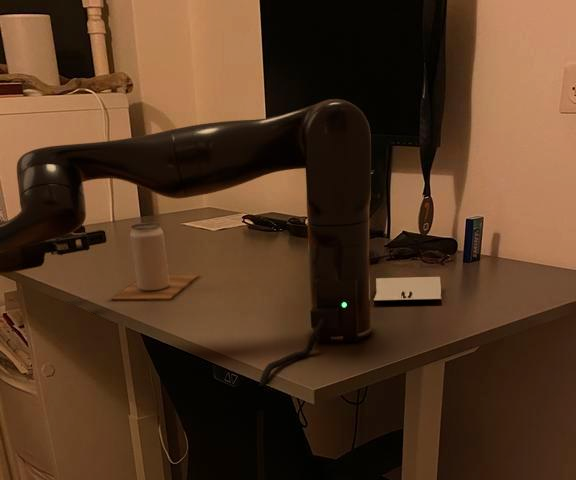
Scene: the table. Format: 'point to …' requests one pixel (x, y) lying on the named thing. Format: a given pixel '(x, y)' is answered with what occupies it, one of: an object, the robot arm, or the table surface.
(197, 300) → the table surface
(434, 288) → the folded paper
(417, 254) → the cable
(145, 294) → the placemat
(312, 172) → the robot arm
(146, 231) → the can
